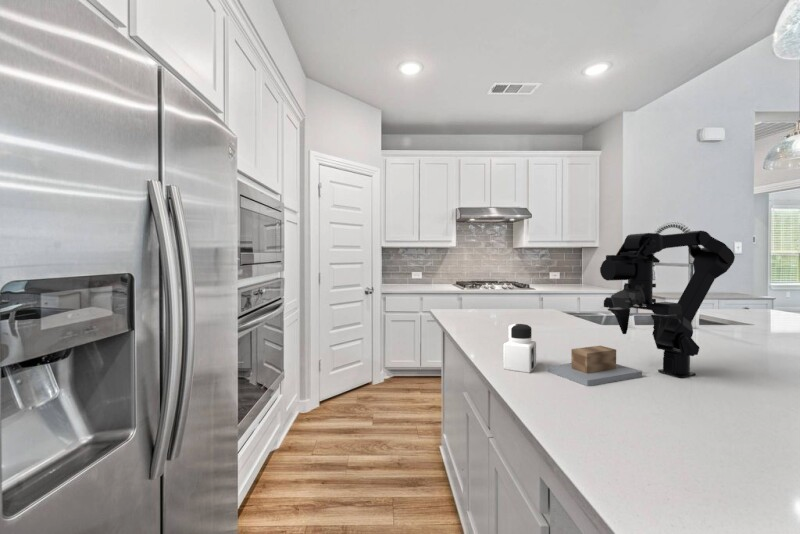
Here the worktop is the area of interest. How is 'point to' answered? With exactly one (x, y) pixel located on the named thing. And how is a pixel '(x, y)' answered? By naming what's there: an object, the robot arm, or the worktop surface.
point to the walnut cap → (593, 359)
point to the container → (519, 349)
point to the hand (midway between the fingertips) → (639, 337)
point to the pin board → (595, 374)
